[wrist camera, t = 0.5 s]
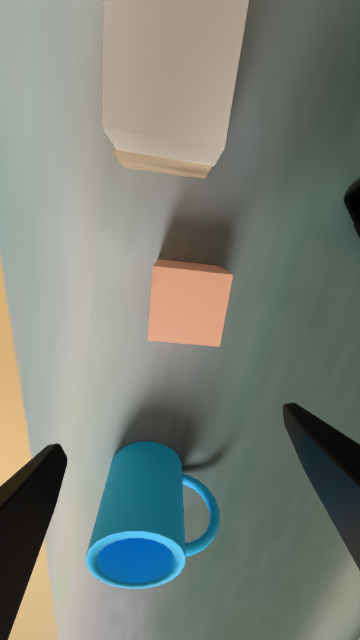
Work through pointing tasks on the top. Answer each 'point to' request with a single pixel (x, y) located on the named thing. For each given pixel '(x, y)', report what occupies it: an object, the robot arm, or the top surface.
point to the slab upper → (171, 75)
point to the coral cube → (188, 302)
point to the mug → (145, 519)
